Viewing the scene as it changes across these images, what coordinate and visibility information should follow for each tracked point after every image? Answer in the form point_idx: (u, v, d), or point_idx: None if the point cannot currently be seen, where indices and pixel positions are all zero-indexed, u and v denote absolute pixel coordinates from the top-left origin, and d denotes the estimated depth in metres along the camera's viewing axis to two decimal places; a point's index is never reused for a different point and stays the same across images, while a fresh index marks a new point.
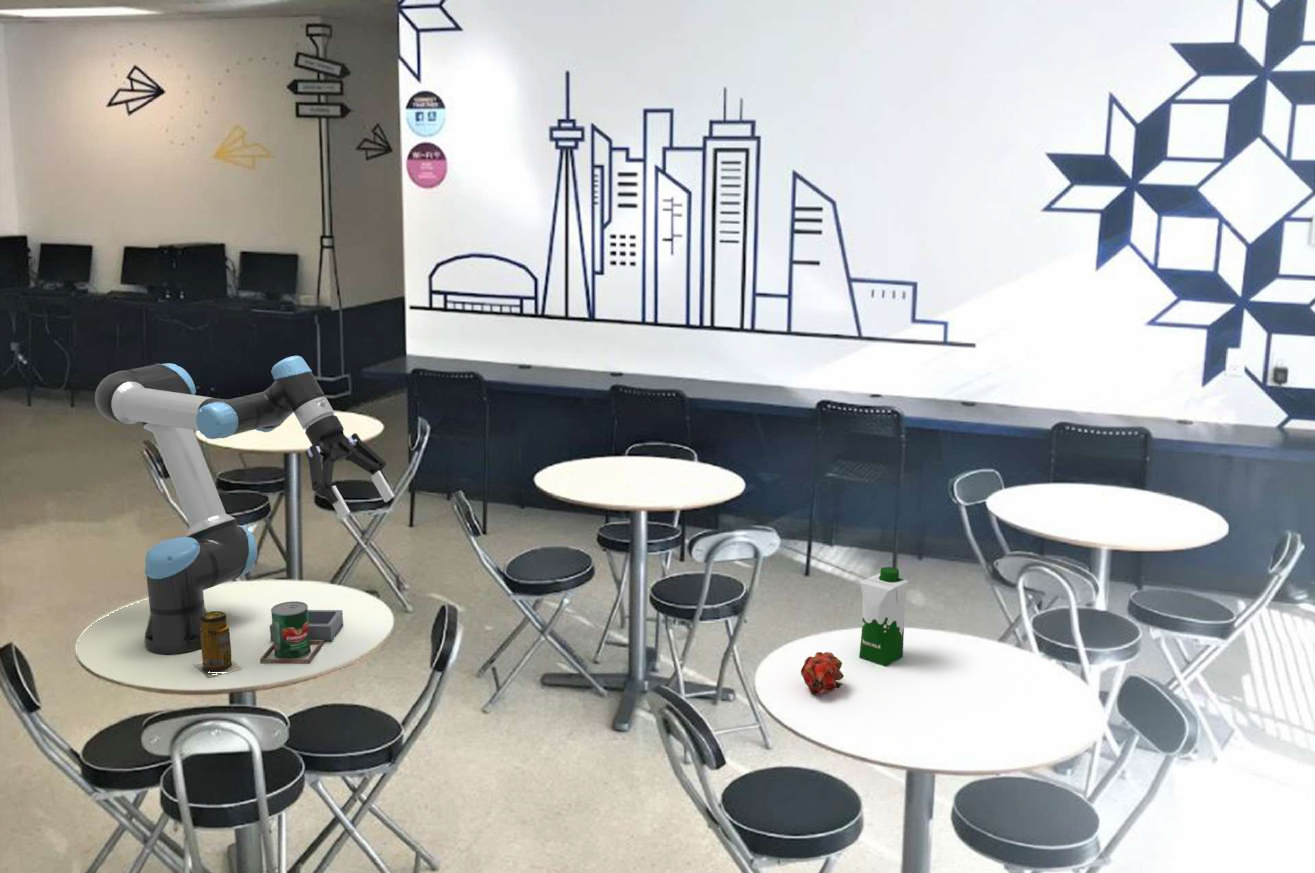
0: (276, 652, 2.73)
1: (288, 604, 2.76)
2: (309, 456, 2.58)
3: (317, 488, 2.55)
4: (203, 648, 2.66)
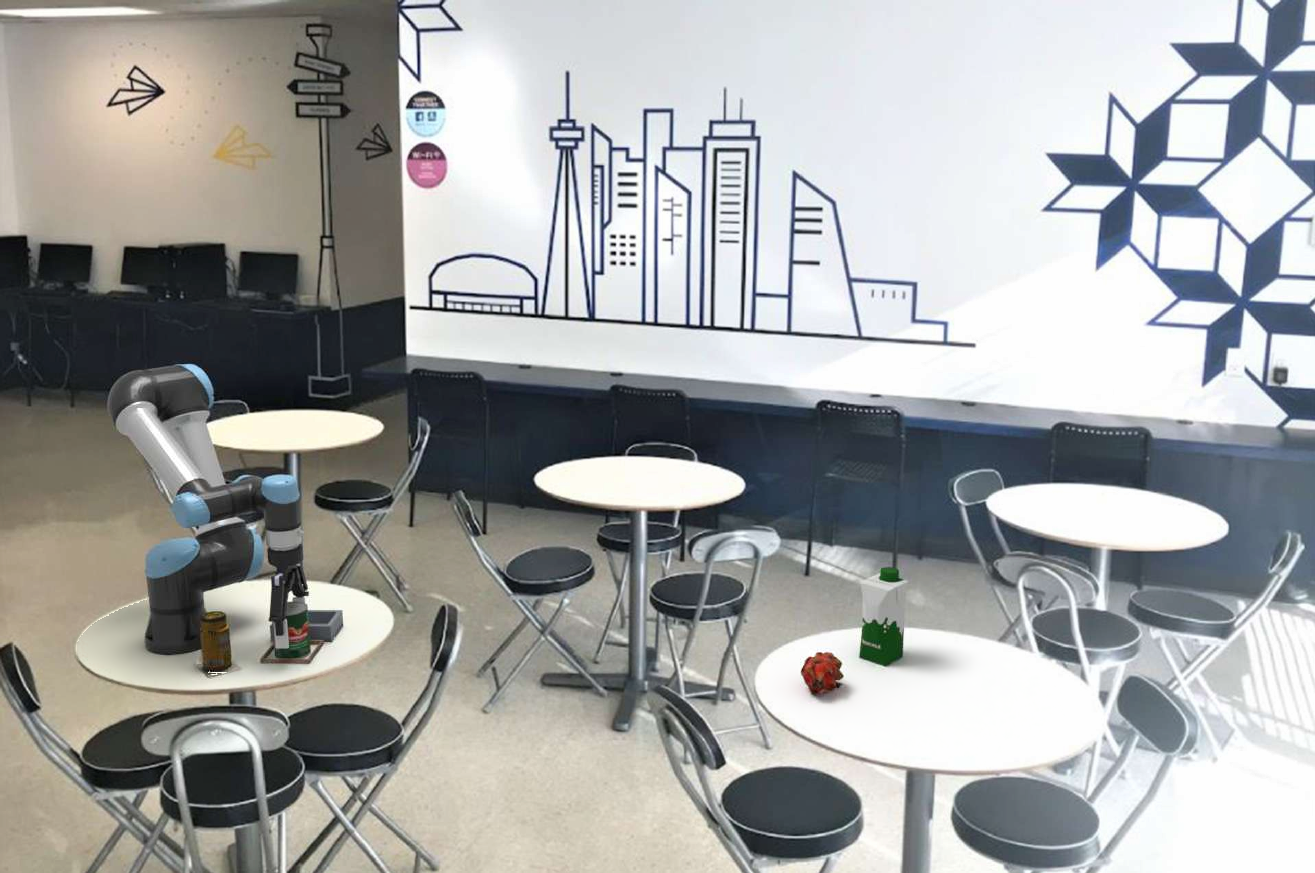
0: (276, 652, 2.73)
1: (288, 604, 2.76)
2: (274, 584, 2.65)
3: (275, 621, 2.64)
4: (203, 648, 2.66)
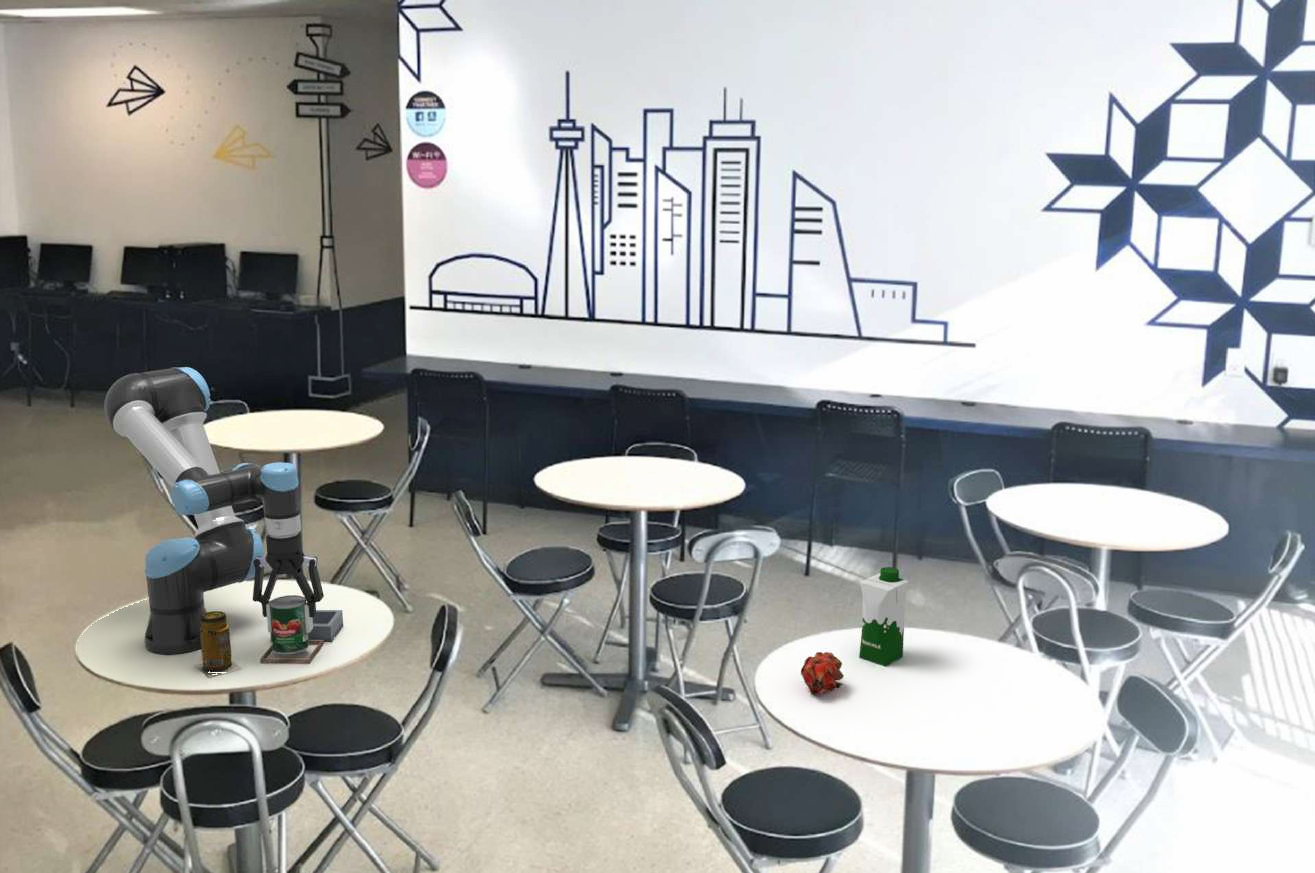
0: None
1: (296, 598, 2.75)
2: None
3: None
4: (203, 648, 2.66)
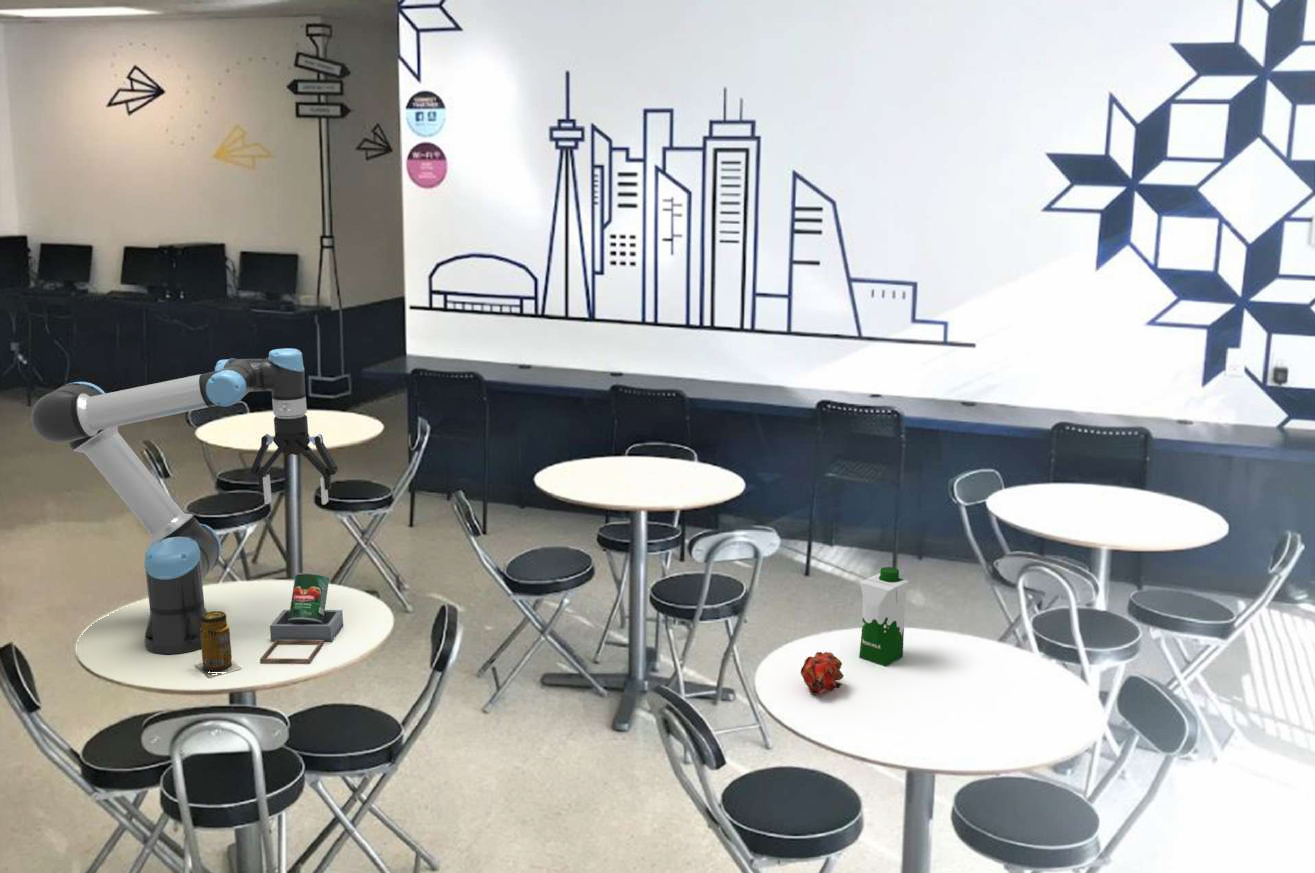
0: None
1: None
2: None
3: None
4: (203, 648, 2.66)
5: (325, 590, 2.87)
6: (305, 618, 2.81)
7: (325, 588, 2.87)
